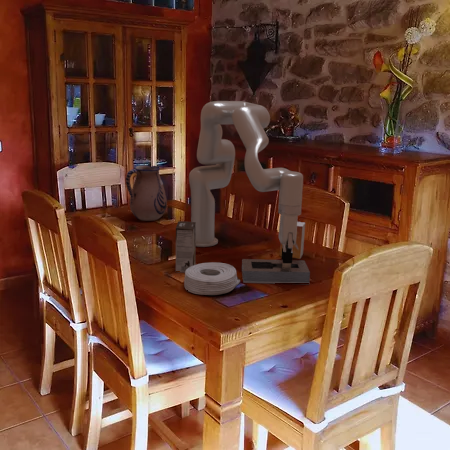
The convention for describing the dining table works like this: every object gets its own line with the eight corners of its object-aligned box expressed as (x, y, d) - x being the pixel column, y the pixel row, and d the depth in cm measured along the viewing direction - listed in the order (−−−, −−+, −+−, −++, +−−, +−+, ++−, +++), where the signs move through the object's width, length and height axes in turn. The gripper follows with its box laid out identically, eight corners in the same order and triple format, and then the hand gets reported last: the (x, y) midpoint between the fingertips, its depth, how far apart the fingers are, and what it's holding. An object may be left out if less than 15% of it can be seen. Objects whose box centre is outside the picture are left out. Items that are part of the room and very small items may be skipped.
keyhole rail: (243, 282, 176) (243, 270, 175) (241, 270, 187) (242, 259, 186) (309, 284, 176) (310, 272, 175) (303, 271, 188) (304, 260, 186)
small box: (279, 256, 203) (281, 223, 200) (282, 251, 209) (284, 220, 206) (300, 259, 201) (302, 226, 197) (303, 254, 207) (305, 222, 203)
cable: (242, 280, 178) (242, 263, 177) (230, 300, 162) (231, 282, 160) (192, 275, 182) (192, 258, 181) (176, 294, 166) (176, 276, 164)
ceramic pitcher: (174, 218, 255) (174, 166, 249) (145, 227, 238) (144, 172, 232) (146, 212, 264) (145, 162, 258) (116, 221, 247) (115, 168, 240)
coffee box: (178, 263, 192) (178, 220, 188) (195, 264, 192) (196, 221, 188) (175, 272, 184) (175, 227, 179) (193, 273, 183) (193, 228, 179)
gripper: (276, 203, 183) (273, 253, 188) (281, 214, 167) (278, 269, 172) (297, 203, 183) (294, 254, 188) (304, 215, 168) (301, 269, 172)
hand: (286, 260), depth 180 cm, fingers closed on peg, 2 cm apart
